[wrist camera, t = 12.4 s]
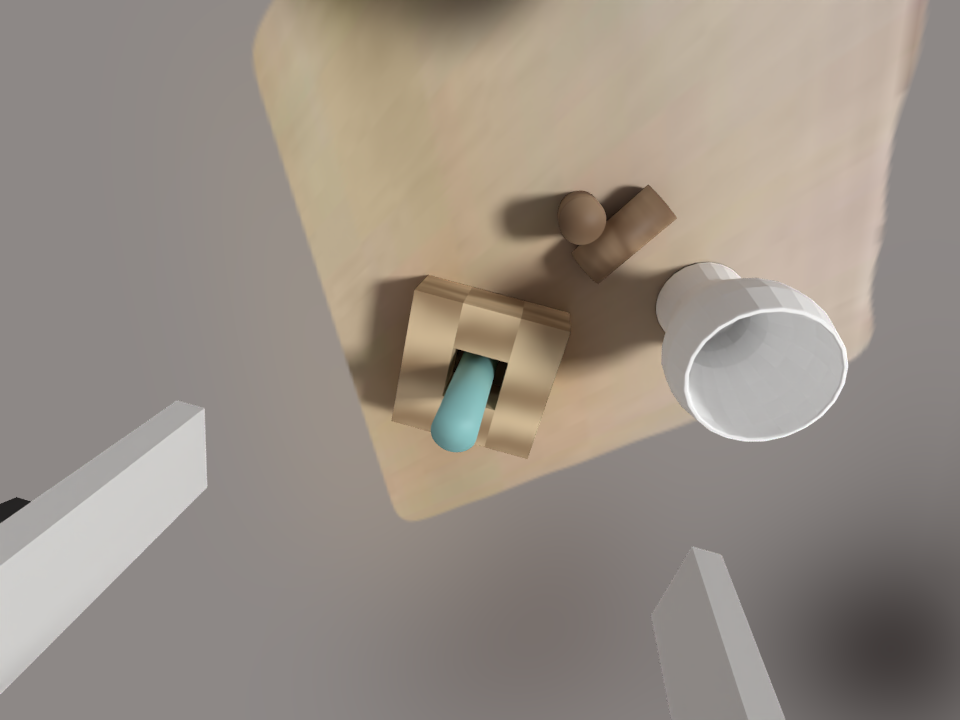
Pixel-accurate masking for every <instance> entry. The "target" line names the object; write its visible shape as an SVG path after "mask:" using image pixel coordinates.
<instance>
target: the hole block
mask: <svg viewBox="0 0 960 720" xmlns="http://www.w3.org/2000/svg"><path fill="white" fill-rule="evenodd" d="M570 333H571V329H570V313H568V312H564V311H560V310H557V309H553V308H549V307H546V306H542V305H538V304H534V303H531V302H527V301H523V300H520V299H516V298H512V297H508V296H505V295H501V294H497V293H494V292H490V291H486V290H482V289H479V288H475V287H471V286H468V285H464V284H460V283H456V282H453V281H449V280H445V279H442V278H438V277H434V276H430V275H428V276H427V277H426V278H425V279H424V280H423V281H422V282H421V283H420V284H419V286H418V287H417V288H416V289H415V290H414V295H413V301H412V307H411V312H410V318H409V324H408V330H407V335H406V341H405V347H404V352H403V358H402V364H401V370H400V375H399V381H398V387H397V392H396V398H395V404H394V410H393V415H392V421H393V422H397V423H401V424H404V425H408V426H411V427H415V428H418V429H422V430H425V431H429V432H431V425H432V422H433V420H434V418H435V416H436V413H437V411H438V409H439V407H440V404H441V402H442V400H443V398H444V396H445V393H446V391H447V389H448V387H449V384H450V382H451V380H452V378H453V376H454V373H453V369H454V364H455V360H456V356H457V351H458V349H459V350H463V351H466V352H470V353H474V354H477V355H481V356H485V357H488V358H492V359H496V360H499V361H503V362H507V365H506V369H505V372H504V376H503V379H502V383H501V386H499V385H495V384H492V385H491V389H490V393H489V396H488V400H487V403H486V407H485V411H484V414H483V418H482V421H481V425H480V428H479V432H478V436H477V439H476V442H475V443H474V444H475V445H479V446H483V447H486V448H490V449H493V450H497V451H500V452H504V453H507V454H511V455H515V456H518V457H522V458H525V459H528V456H529V453H530V450H531V447H532V444H533V441H534V438H535V435H536V432H537V429H538V426H539V423H540V421H541V418H542V415H543V412H544V409H545V406H546V403H547V400H548V397H549V394H550V391H551V388H552V385H553V383H554V380H555V377H556V374H557V371H558V368H559V365H560V362H561V359H562V356H563V353H564V350H565V347H566V345H567V342H568V339H569V336H570Z"/></svg>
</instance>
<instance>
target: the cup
mask: <svg viewBox="0 0 960 720" xmlns="http://www.w3.org/2000/svg"><path fill="white" fill-rule="evenodd" d="M656 314H657V318H658V321H659V324H660V325H661V327H662V328H663V330H664V331H665V332H666V333H665V336H664V340H663V344H662V367H663V370H664V374H665V377H666V380H667V382H668V385H669V387H670V389H671V392H672V393H673V395H674V396H675V398H676V399H677V401H678V402H679V404H680V405H681V406H682V407H683V408H684V409H685V410H686V411H687V412H688V413H689V414H691V415H692V416H693V417H694V418H695V419H696V420H697V421H699V422H700V423H701V424H702V425H703V426H705V427H706V428H707V429H708V430H710V431H712V432H714V433H716V434H719V435H721V436H723V437H725V438H729V439H735V440H741V441H768V440H773V439H777V438H782V437H786V436H788V435H791V434H793V433H795V432H797V431H800V430H802V429H804V428H806V427H807V426H809V425H810V424H811V423H813V422H814V421H816V420H817V419H819V418H820V417H822V416H823V414H824V413H825V412H826V411H827V410H828V409H829V408H830V407H831V405H833V403H834V402H835V401H836V399H837V397H838V395H839V394H840V392H841V390H842V388H843V386H844V384H845V379H846V374H847V369H848V361H847V354H846V347H845V346H844V344H843V342H842V340H841V338H840V336H839V334H838V333H837V331H836V329H835V327H834V325H833V324H832V322H831V320H830V319H829V317H828V315H827V313H826V312H825V311H824V310H823V309H822V308H821V307H819V306H818V305H817V304H816V303H815V302H814V301H813V300H812V299H811V298H809V297H807V296H806V295H804V294H803V293H801V292H800V291H798V290H796V289H794V288H792V287H790V286H788V285H785V284H783V283H781V282H779V281H773V280H767V279H761V278H741V277H740V276H739V275H738V274H737V273H736V272H735V271H733V270H732V269H731V268H729V267H726V266H724V265H722V264H717V263H711V262H707V263H697V264H694V265H691V266H688V267H685V268H683V269H682V270H680V271H678V272H677V273H675V274H674V275H673V276H672V277H671V278H670V279H669V280H668V281H667V282H666V283H665V284H664V286H663V288H662V289H661V291H660V293H659V296H658V299H657V302H656Z"/></svg>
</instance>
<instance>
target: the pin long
mask: <svg viewBox="0 0 960 720" xmlns="http://www.w3.org/2000/svg"><path fill="white" fill-rule="evenodd" d="M497 364H498V360H496V359H492V358H488V357H485V356H481V355H477V354H474V353H470V352H466V351H464V353H463V355H462V358H461V360H460V362H459V364H458V367H457V369H456V371H455V373H454V376H453V378H452V380H451V382H450V384H449V387H448V389H447V391H446V393H445V396H444V398H443V400H442V402H441V404H440V407H439V409H438V411H437V413H436V416H435V418H434V420H433V422H432V425H431V435H432V437H433V439H434V441H435V442H436V443H437V444H438V445H439V446H440V447H441V448H443V449H445V450H447V451H451V452H463V451H466V450H468V449H470V448H471V447H472V446H473V445H474V443H475V442H476V439H477V436H478V432H479V428H480V425H481V421H482V418H483V414H484V411H485V407H486V403H487V400H488V396H489V393H490V389H491V385H492V382H493V378H494V375H495V371H496V368H497Z"/></svg>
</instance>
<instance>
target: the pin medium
mask: <svg viewBox="0 0 960 720" xmlns="http://www.w3.org/2000/svg"><path fill="white" fill-rule="evenodd" d="M676 219H677V218H676V216H675V215H674V213H673V212H672V211H671V209H670V208H669V207H668V206H667V204H666V203H665V202H664V201H663V200H662V198H661V197H660V196H659V195H658V194H657V193H656V192H655V191H654V190H653V189H652V188H651V187H650V186H649V185H647V186H646V187H645V188H644V189H643V190H642V191H640V192H639V193H638V194H637V195H636V196H635V197H634V198H633V199H631V200H630V201H629V202H628V203H627V204H626V205H625V206H624V207H622V208H621V209H620V210H619V211H618V212H617V213H616V214H614V215H613V216H612V217H611V218H610V219H609V220H608V221H607V222H606V225H605V228H604V231H603V232H602V234H601V235H600V236H599V238H597V239H596V240H595V241H593V242H591V243H589V244H585V245H580V246H578V247H577V248H576V249H575V250H574V251H573V252H572V255H573V257H574V259H575V260H576V261H577V263H578V264H579V265H580V267H581V268H582V269H583V270H584V271H585V272H586V274H587V275H588V276H589V277H590V278H591V279H592V280H593V281H595V282H596V283H597V284H598V283H600V282H601V281H602V280H603V279H605V278H606V277H607V276H608V275H609V274H611V273H612V272H613V271H614V270H615V269H617V268H618V267H619V266H620V265H621V264H623V263H624V262H625V261H626V260H627V259H629V258H630V257H631V256H632V255H633V254H635V253H636V252H637V251H638V250H639V249H641V248H642V247H643V246H644V245H645V244H647V243H648V242H649V241H650V240H651V239H653V238H654V237H655V236H656V235H658V234H659V233H660V232H661V231H662V230H664V229H665V228H666V227H667V226H668V225H670V224H671V223H672V222H673V221H674V220H676Z"/></svg>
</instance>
